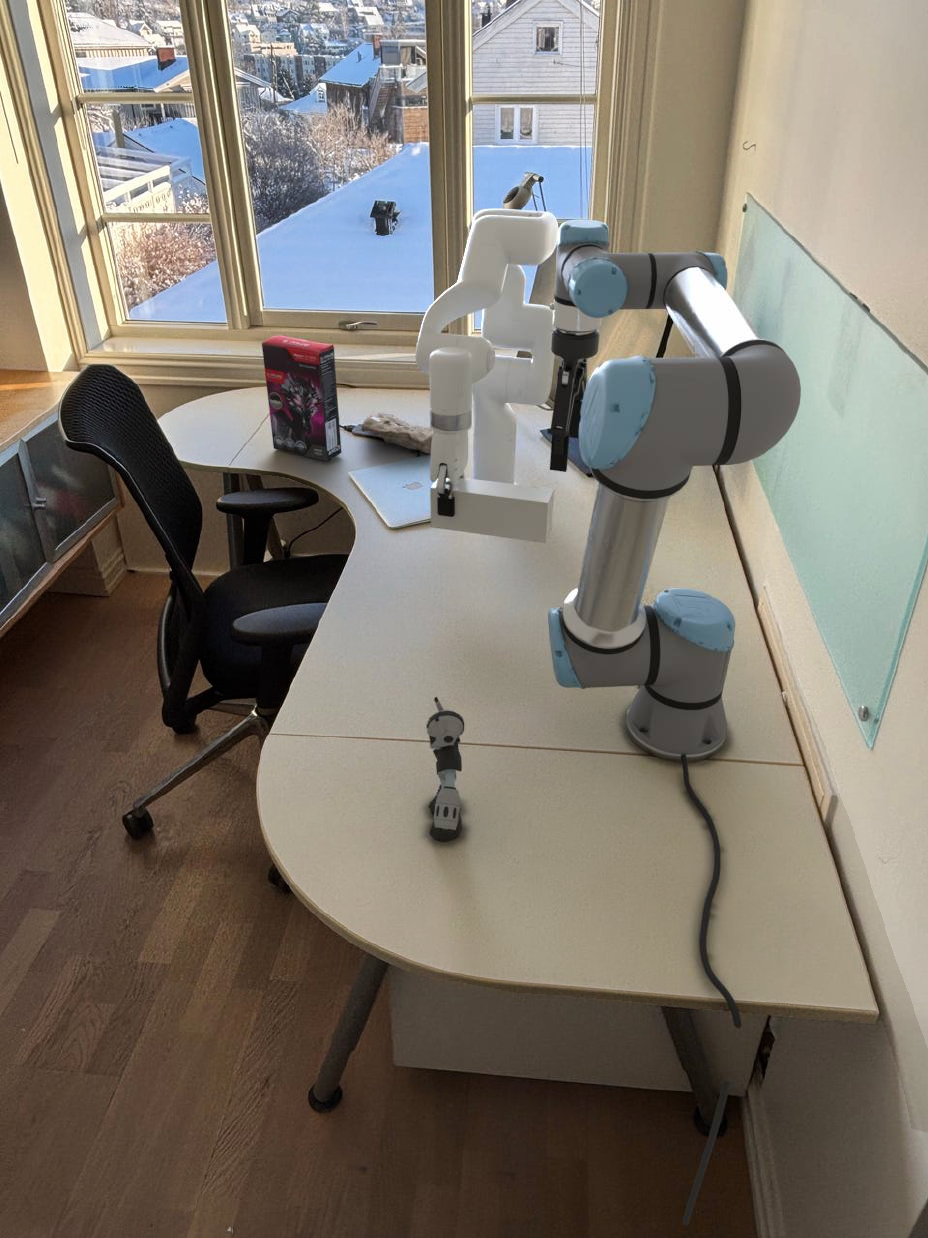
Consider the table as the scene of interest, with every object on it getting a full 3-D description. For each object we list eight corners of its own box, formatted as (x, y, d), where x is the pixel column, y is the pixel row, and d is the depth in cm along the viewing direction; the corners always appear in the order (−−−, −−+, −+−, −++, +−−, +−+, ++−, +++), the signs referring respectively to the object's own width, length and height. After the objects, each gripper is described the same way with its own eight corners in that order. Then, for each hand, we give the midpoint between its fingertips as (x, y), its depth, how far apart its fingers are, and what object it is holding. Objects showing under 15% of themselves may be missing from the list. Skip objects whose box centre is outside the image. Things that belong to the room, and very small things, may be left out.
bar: (551, 528, 176) (554, 488, 172) (545, 543, 172) (548, 502, 167) (439, 513, 181) (439, 474, 177) (430, 527, 176) (430, 487, 172)
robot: (467, 874, 119) (468, 759, 108) (429, 876, 119) (427, 760, 108) (460, 769, 135) (460, 659, 124) (426, 770, 135) (424, 660, 124)
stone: (345, 437, 230) (349, 413, 227) (367, 428, 243) (371, 405, 241) (423, 461, 226) (429, 437, 224) (441, 451, 239) (446, 428, 237)
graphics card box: (271, 449, 231) (258, 341, 215) (288, 440, 236) (276, 333, 220) (327, 463, 224) (318, 352, 209) (343, 453, 229) (336, 344, 214)
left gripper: (444, 399, 174) (444, 486, 184) (416, 433, 160) (418, 525, 170) (482, 403, 172) (481, 490, 182) (458, 438, 159) (457, 531, 169)
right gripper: (567, 302, 154) (558, 421, 167) (535, 351, 135) (528, 481, 147) (611, 306, 153) (599, 426, 165) (586, 356, 133) (574, 488, 145)
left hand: (451, 506), depth 176 cm, fingers closed on bar, 6 cm apart
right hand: (565, 453), depth 156 cm, fingers open, 13 cm apart
